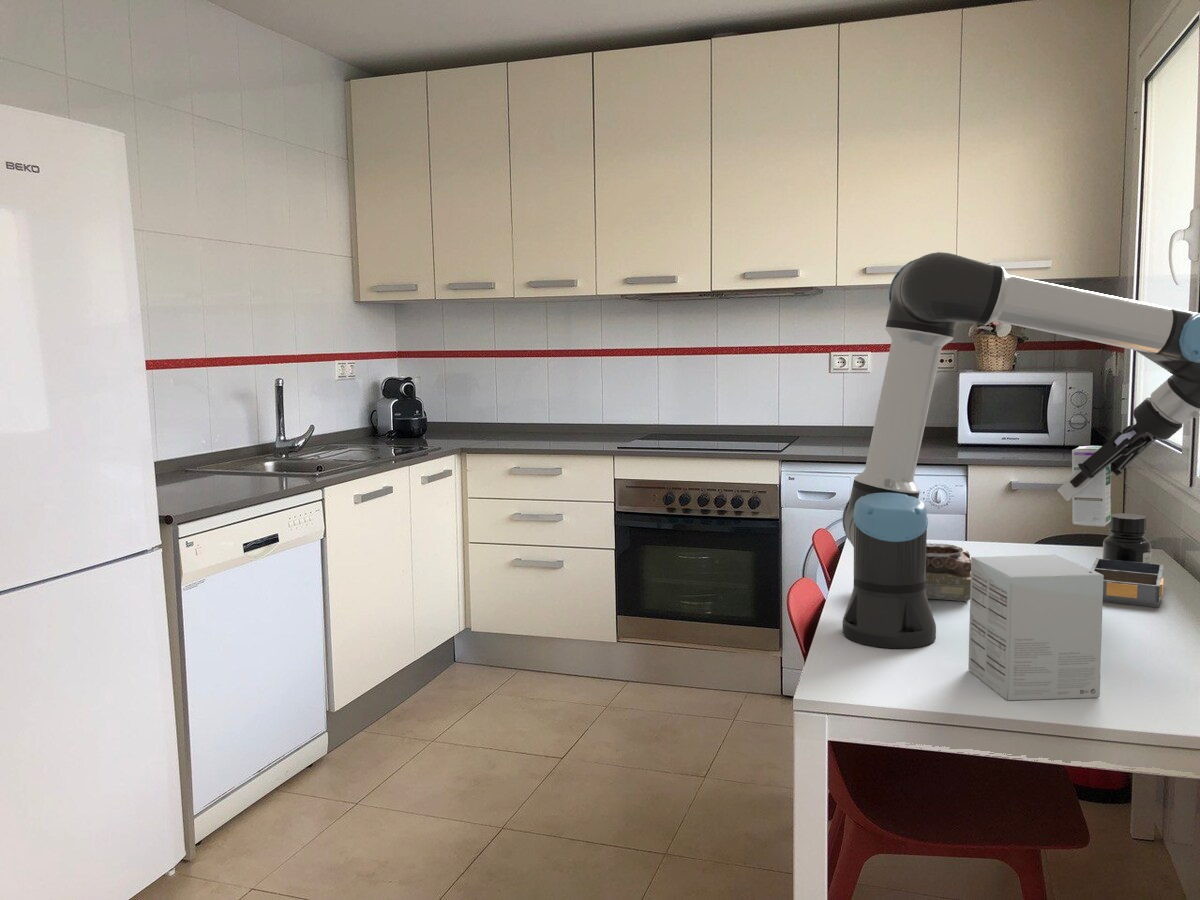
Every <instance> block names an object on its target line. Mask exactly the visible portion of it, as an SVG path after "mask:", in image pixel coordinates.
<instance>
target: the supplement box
mask: <svg viewBox="0 0 1200 900" xmlns="http://www.w3.org/2000/svg"><path fill="white" fill-rule="evenodd" d="M970 559H971V587H970V600H969V630H968V631H969V632H968V662H967V663H968V670H969V671H970V672H971V673H972V674H974V675H975V676H976V677H977V678H978V679H980V680H981V681H982V682H983V683H985V684H986V685H987V686H988V687H990V689H992V690H993V691H994V692H996V693H997V694H998V695H999V696H1001V698H1003V699H1004V700H1005V701H1032V700H1061V699H1062V700H1063V699H1064V700H1067V699H1068V700H1069V699H1092V698H1096V699H1097V698H1099V697H1100V696H1101V695H1100V694H1101V670H1102V669H1101V663H1102V635H1103V634H1102V632H1103V631H1102V630H1103V624H1102V623H1103V603H1104V602H1103V579H1104V575H1102V574H1100V573H1098V572H1096V571H1093V570H1091V568H1089V567H1086V566H1083V565H1080V564H1079V563H1076V562H1074V561H1071V560H1069V559H1067V558H1064V557H1062V556H1059V555H1057V554H1037V555H1036V554H1035V555H1033V554H1032V555H1005V556H1002V555H1001V556H970Z"/></svg>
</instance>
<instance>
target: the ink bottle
mask: <svg viewBox="0 0 1200 900" xmlns="http://www.w3.org/2000/svg"><path fill="white" fill-rule="evenodd" d="M1147 518H1148V517H1147V516H1146V515H1141V514H1137V513H1136V514H1135V513H1111V521H1110V522H1109V523H1108V525H1109V533H1111V534H1109V535H1108V536H1106V537H1105V538H1104V539H1103V542H1102V559H1110V560H1121V561H1132V562H1143V563H1152V561H1151V560H1152V543H1151V542H1150V541H1149V540H1148V539H1147V538H1146V537H1145V535H1147V533H1146V532H1147Z"/></svg>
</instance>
